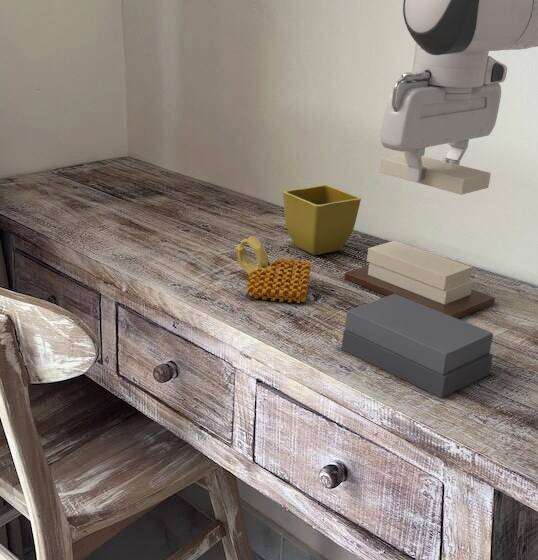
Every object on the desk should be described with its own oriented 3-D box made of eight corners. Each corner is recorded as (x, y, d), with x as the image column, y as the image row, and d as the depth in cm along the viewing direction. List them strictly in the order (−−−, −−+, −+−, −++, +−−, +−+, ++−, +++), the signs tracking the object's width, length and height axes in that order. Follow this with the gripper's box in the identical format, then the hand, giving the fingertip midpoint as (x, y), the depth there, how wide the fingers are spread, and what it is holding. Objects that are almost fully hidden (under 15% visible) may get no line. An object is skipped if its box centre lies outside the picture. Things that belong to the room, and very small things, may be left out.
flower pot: (312, 262, 123) (317, 205, 119) (277, 245, 129) (281, 190, 126) (356, 253, 127) (362, 198, 124) (320, 237, 134) (325, 184, 130)
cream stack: (494, 304, 110) (500, 269, 108) (450, 322, 104) (456, 286, 102) (388, 264, 123) (392, 233, 121) (344, 278, 117) (347, 246, 115)
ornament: (337, 264, 107) (266, 212, 117) (274, 295, 103) (206, 238, 112) (333, 303, 112) (265, 250, 121) (273, 334, 107) (207, 276, 117)
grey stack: (489, 374, 91) (496, 334, 89) (441, 398, 86) (448, 356, 84) (389, 330, 101) (394, 293, 99) (341, 349, 96) (345, 310, 94)
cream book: (488, 188, 104) (491, 172, 103) (461, 195, 101) (463, 179, 100) (406, 166, 113) (408, 152, 113) (378, 172, 110) (380, 157, 109)
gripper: (418, 77, 93) (403, 193, 98) (515, 67, 106) (496, 171, 111) (375, 70, 98) (362, 181, 103) (472, 61, 110) (457, 161, 115)
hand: (433, 176), depth 107 cm, fingers closed on cream book, 6 cm apart
